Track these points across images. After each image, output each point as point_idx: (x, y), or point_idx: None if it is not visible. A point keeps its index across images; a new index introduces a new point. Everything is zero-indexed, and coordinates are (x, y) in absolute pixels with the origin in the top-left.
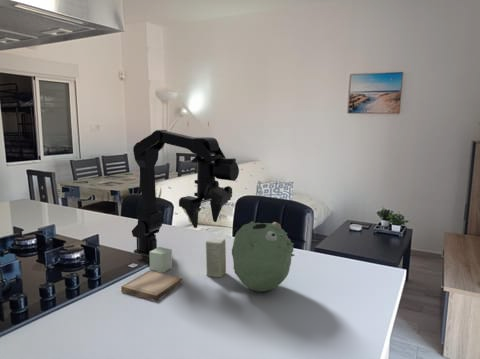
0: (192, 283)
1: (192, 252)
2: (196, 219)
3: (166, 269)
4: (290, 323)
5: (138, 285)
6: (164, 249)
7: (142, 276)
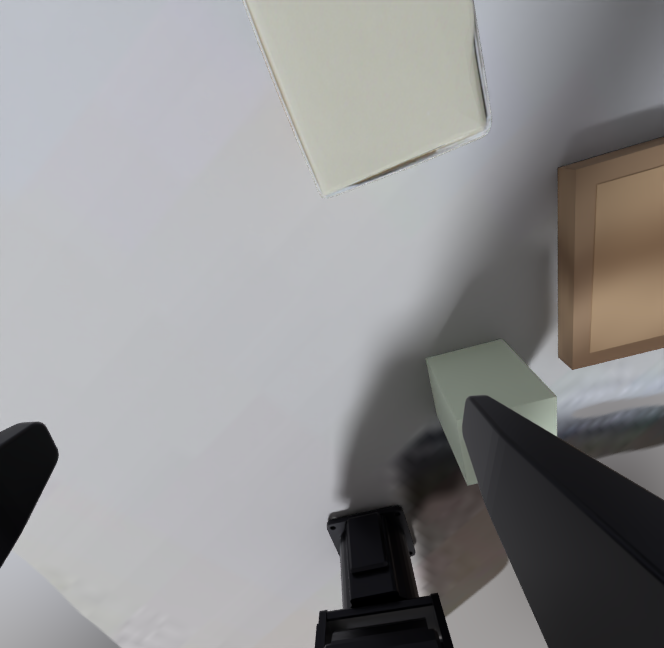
0: (532, 112)
1: (231, 419)
2: (634, 499)
3: (472, 348)
4: None
5: None
6: None
7: (648, 336)
